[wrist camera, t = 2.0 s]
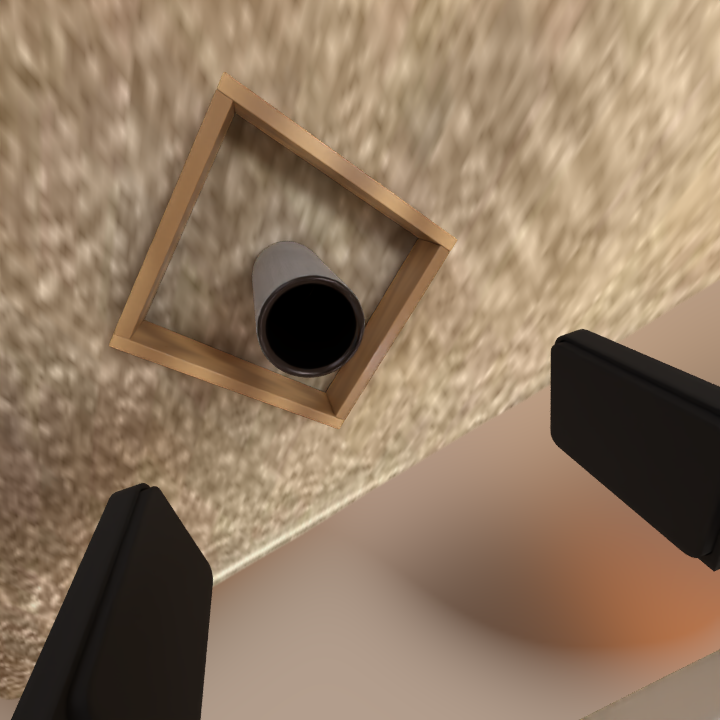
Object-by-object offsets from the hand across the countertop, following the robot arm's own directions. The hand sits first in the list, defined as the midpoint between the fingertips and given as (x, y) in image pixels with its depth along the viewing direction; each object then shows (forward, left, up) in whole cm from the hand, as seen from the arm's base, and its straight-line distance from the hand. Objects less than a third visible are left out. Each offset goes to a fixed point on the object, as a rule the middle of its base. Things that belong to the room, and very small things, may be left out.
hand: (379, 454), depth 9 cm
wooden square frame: (0, 0, -18) cm, 18 cm away
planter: (0, 0, -19) cm, 19 cm away
